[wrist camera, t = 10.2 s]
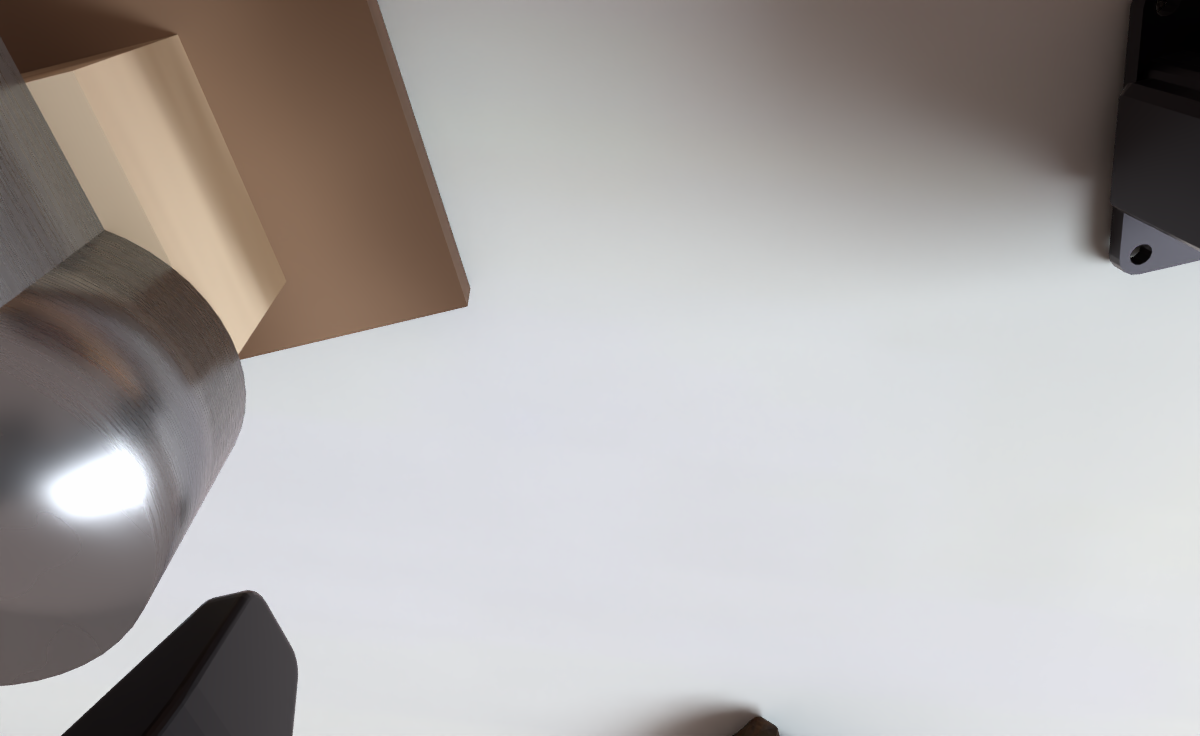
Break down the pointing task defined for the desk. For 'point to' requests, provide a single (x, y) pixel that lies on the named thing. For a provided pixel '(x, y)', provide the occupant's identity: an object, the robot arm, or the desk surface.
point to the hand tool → (758, 728)
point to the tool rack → (249, 155)
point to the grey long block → (92, 408)
